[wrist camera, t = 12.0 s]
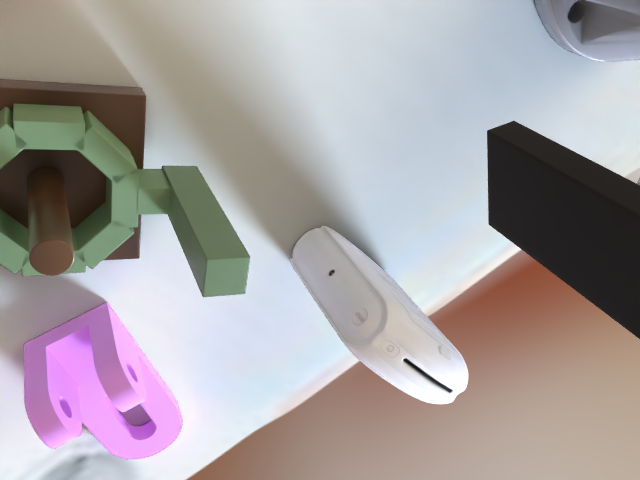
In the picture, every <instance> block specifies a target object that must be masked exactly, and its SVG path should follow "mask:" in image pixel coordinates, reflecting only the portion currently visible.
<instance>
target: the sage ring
mask: <svg viewBox="0 0 640 480" xmlns="http://www.w3.org/2000/svg"><path fill="white" fill-rule="evenodd" d="M23 149H49V150H78V151H79V152H80V153H81V154H82V155H83V156H84V157H85V158H87V159H88V160H89V161H90V162H91V163H92V164H93V165H94V166H96V167H97V168H98V169H99V170H100V171H101V172H102V173H103V174H105V175H106V202H104V203H103V204H102V205H101V206H100V207H99V208H97V209H96V210H95V211H94V212H93V213H92V214H91V215H89V216H88V217H87V218H86V219H85V220H84V221H82V222H81V223H80V224H79V225H78V226H77V227H75V228H71V233H72V240H73V247H74V254H75V259H74V262H73V264H72V266H71V267H70V268H69V269H68V270H67V271H65V272H64V273H81V272H86V265H87V266H88V267H90V268H91V269H93V268H94V267H95V266H97V265H98V264H99V263H100V262H101V261H102V260H104V259H105V258H106V257H107V256H108V255H109V254H111V253H112V252H113V251H114V250H115V249H116V248H118V247H119V246H120V245H121V244H122V243H123V242H125V241H126V240H127V239H128V238H129V237H130V236H131V235H133V234H134V229H133V227H138V215H140V214H168V216H169V218H170V221H171V223H172V225H173V228H174V230H175V233H176V235H177V237H178V240H179V242H180V244H181V247H182V249H183V251H184V254H185V256H186V258H187V261H188V263H189V265H190V268H191V270H192V272H193V275H194V277H195V279H196V282H197V284H198V287H199V289H200V291H201V294H202V296H203V297H212V296H224V295H236V294H245V292H246V285H247V278H248V270H249V263H250V255H249V254H248V252H247V250H246V249H245V247H244V245H243V244H242V242H241V240H240V239H239V237H238V235H237V233H236V232H235V230H234V228H233V227H232V225H231V223H230V222H229V220H228V218H227V217H226V215H225V213H224V211H223V210H222V208H221V206H220V205H219V203H218V201H217V200H216V198H215V196H214V195H213V193H212V191H211V189H210V188H209V186H208V184H207V183H206V181H205V179H204V178H203V176H202V174H201V173H200V171H199V169H198V167H197V166H162V169H137V166H136V163H135V161H134V158H133V156H132V155H131V152H130V150H129V149H128V148H127V147H126V146H125V145H124V144H123V143H122V142H121V141H120V140H119V139H118V138H117V137H116V136H115V135H114V134H113V133H112V132H111V131H110V130H109V129H107V128H106V127H105V126H104V125H103V124H102V123H101V122H100V121H99V120H98V119H97V118H96V117H95V116H94V115H93V114H92V113H91V112H90V111H86V112H85V113H84V114H83V113H82V109H81V107H78V106H57V105H35V104H13V112H12V111H11V110H10V109H9V108H8V107H4V108H3V109H2V110H1V111H0V169H1V168H2V167H3V166H5V165H6V164H7V163H8V162H9V161H10V160H12V159H13V158H14V157H15V156H16V155H17V154H18V153H20V152H21V151H22V150H23ZM0 264H1V265H2V266H4V267H5V268H7V269H8V270H10V271H11V272H13V273H14V274H16V273H17V272H18V271H19V270H20V269H21V268H22V275H23V276H30V275H44V274H41V273H39V272H37V271H36V270H35V269H34V268H33V267H32V266H31V264H30V261H29V238H28V229H27V228H26V227H25V226H23V225H22V224H20V223H19V222H18V221H16V220H15V219H14V218H12V217H11V216H10V215H8V214H7V213H6V212H4V211H3V210H2V209H0ZM64 273H61V274H64Z"/></svg>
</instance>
